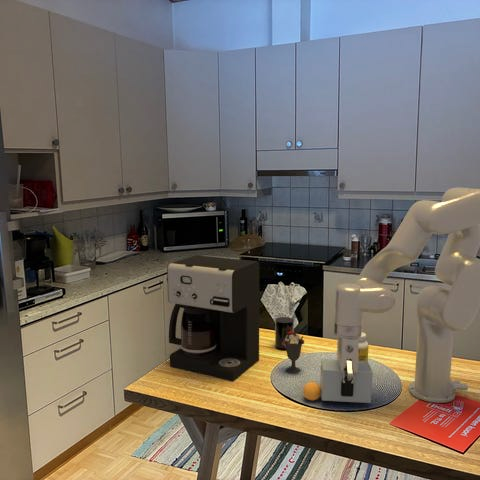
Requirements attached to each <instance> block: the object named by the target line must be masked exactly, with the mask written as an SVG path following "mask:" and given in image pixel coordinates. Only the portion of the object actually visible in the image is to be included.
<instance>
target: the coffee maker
mask: <svg viewBox="0 0 480 480" xmlns="http://www.w3.org/2000/svg"><path fill="white" fill-rule="evenodd" d="M166 270H167V271H166V272H167V273H166V275H167V276H166V277H167V278H166V279H167V281H166V282H167V301H168V303H170V304H174V307H173V308H172V311H171V315H170V319H169V327H168V343H169V344H173V345H176V346H180V348H179V349H177V350H175V351H174V352H172V353H170V354H169V367H170V368H174V369H177V370H182V371H185V372H191V373H195V374H199V375H204V376H209V377H212V378H215V379H216V378H217V379H221V380H225V381H229V382H235V381H236V380H237V379H238V378H240V377H241V376H242V375H243V374H244V373H246V372H247V371H248V370H249V369H250V368H252V367H253V366H254V365H255V364H257V363H258V362H259V360H260V262H259V261H257V260H249V259H248V260H247V259H239V258H238V259H237V258H228V257H227V258H226V257H218V256H207V255H197V254H196V255H193V256H189V257H186V258H182V259H180V260H177V261H174V262H171V263H170V262H169V264H168V265H167V268H166ZM180 309H183V312H182V315H181V322H180V323H181V324H180V338H178V337H177V334H176V333H177V322H178V317H179V312H180Z"/></svg>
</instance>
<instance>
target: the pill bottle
mask: <svg viewBox="0 0 480 480" xmlns="http://www.w3.org/2000/svg"><path fill="white" fill-rule="evenodd" d="M366 339H367V334H366V333H365V332H363V331H362V335H361V337H359V338H358V343H359V361H368V362H369V348H370V347H369V342H368V341H366Z"/></svg>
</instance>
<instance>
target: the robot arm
mask: <svg viewBox="0 0 480 480" xmlns="http://www.w3.org/2000/svg"><path fill="white" fill-rule="evenodd" d="M432 235H437V236H438V235H439V236H444V235H447V239H446V241H445V244H444V245H443V248H442V250H441V253H440V255H439V257H438V259H437V262H436V265H435V268H434V275H435V277H436V278H437V279H438V280H439V282H442V283H443V284H445V285H447V286H450V290H449V289H447V288H444V287H441V286H437V285H429V286H426V287H424V288H423V289H421V290H420V291H419V292H418V294H417V296H416V300H415V311H416V320H417V332H416V333H417V336H416V338H417V339H416V350H415V351H416V354H415V369H414V371H415V372H414V380H413V381H411V382H410V383H409V385H408V391H409V393H410V394H411V395H412V396H413V397H415V398H417V399H418V400H419V399H420V400H422V401H424V402H428V403H436V404H440V403H441V404H442V403H450V402H451V401H453V400H455V398H456V391H457V390H459V391H468V389H469V385H468V383H463V382H462V383H461V381H460V380H455V379H454V380H453V379H451V371H452V360H453V359H452V356H453V345H454V332H461V331H464V330H465V329H467V328H468V327H469V326H471V324H472V322H473V321H474V320H475V318H476V315H477V313H478V311H479V309H480V258H478V257H477V254H478V251H479V248H480V188H470V187H453V188H452V187H451V188H450V189H447V190H446V191H445V192H444V193H443V195H442V198H441V201H436V200H430V199H429V200H427V199H423V200H418V201H416V202H414V204H412V205H411V206H410V208H409V209H408V211H407V213H406V214H405V216H404V217H403V220H402V221H401V222H400V225H399V226H398V228H397V229H396V231H395V233H394V235H393V236H392V238H391V240H389V242H388V243H387V245H386V246H385V247H384V248H382V249H381V250H380V251H379V252H378V253H376V255H374V256H373V257H372V258H371V259H370V260H369V261H368V262H366V264H365V266H364V267H363V269H362V270H361V272H360V274H359V275H358V277H357V279H356V280H355V283H340V284H339V285H337V286H336V289H335V298H334V300H335V301H334V317H333V318H334V319H333V322H334V323H333V334H334V335H335V336H336V337H337V343H336V346H337V347H336V360H337V361H338V365H339V368H340V371H341V372H342V373H343V382H342V381H341V396H348V397H352V396H353V386H354V382H353V370H354V373H358V363H359V343H358V338H359V337H361V335H362V332H363V318H364V317H363V315H364V314H363V313H371V314H372V313H373V314H386V313H388V312H390V311H391V310H392V309H394V306H395V304H396V296H395V295H394V293H393V291H392V290H391V289H389V288H388V287H386V286H385V285H383V283H384V281H385V280H386V278H387V277H388V276H389V275H390V274H391V273H392V272H393V271H395V270H396V269H398V268H401V267H403V266H406V265H410V264H412V263H414V262H416V261H417V260H418V258H419V256H420V255H421V253H423V250H424V249H425V246H426V245H427V243H428V242H429V241H430V239H431V237H432ZM344 369H347V371H344ZM345 373H347V376H346V377H345Z"/></svg>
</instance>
